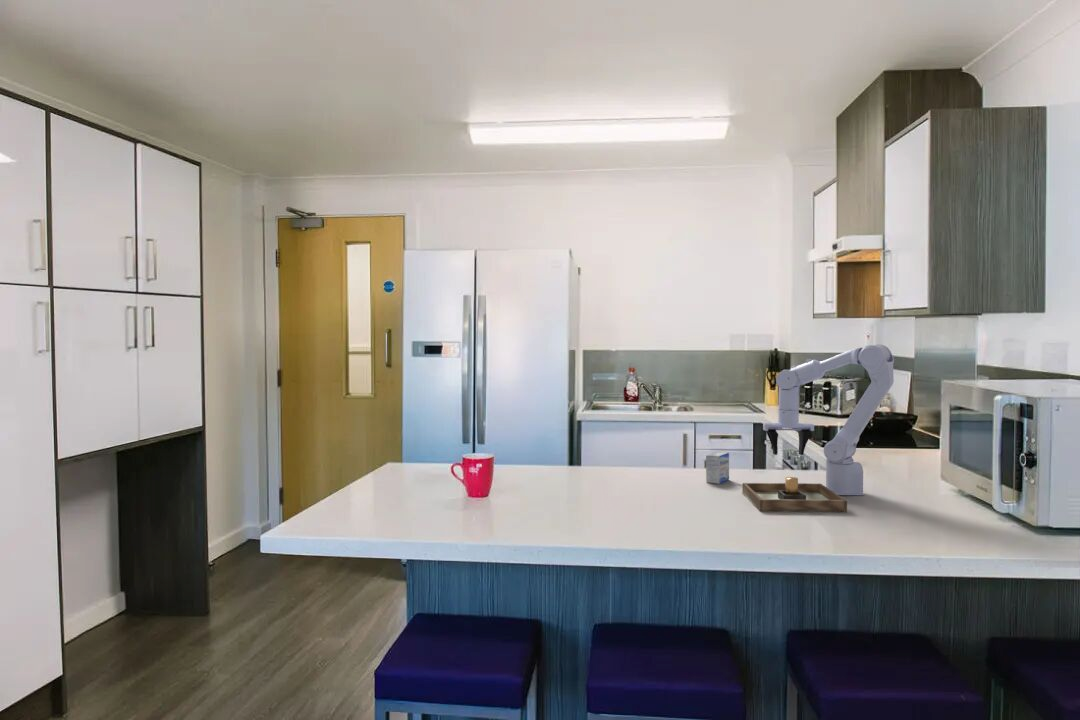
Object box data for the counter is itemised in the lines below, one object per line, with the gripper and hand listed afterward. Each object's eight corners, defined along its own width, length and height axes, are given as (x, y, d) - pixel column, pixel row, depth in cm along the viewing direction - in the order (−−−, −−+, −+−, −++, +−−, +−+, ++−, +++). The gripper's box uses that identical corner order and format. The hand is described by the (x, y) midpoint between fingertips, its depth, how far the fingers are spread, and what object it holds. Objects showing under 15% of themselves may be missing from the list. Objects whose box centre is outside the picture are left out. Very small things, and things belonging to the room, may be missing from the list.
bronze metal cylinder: (795, 498, 191) (795, 476, 190) (799, 501, 188) (799, 479, 187) (783, 498, 191) (783, 477, 190) (787, 501, 187) (788, 479, 187)
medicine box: (719, 484, 211) (719, 456, 211) (705, 482, 214) (705, 454, 214) (729, 479, 218) (729, 452, 217) (715, 478, 220) (716, 451, 220)
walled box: (820, 493, 198) (820, 483, 198) (846, 512, 178) (847, 500, 178) (742, 493, 200) (742, 482, 200) (759, 511, 180) (759, 499, 180)
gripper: (808, 408, 212) (808, 452, 213) (760, 407, 213) (760, 451, 214) (816, 410, 205) (816, 456, 206) (766, 410, 206) (766, 456, 207)
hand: (788, 454), depth 209 cm, fingers open, 7 cm apart
